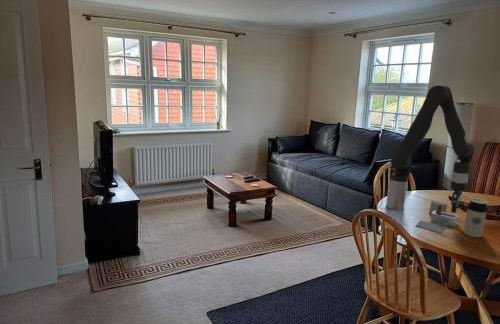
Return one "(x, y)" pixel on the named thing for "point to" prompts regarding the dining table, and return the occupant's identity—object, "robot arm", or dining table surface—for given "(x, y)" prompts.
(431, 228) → the mat
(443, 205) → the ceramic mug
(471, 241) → the dining table surface
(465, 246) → the dining table surface
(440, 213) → the post
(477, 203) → the travel mug
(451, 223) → the white slotted block
